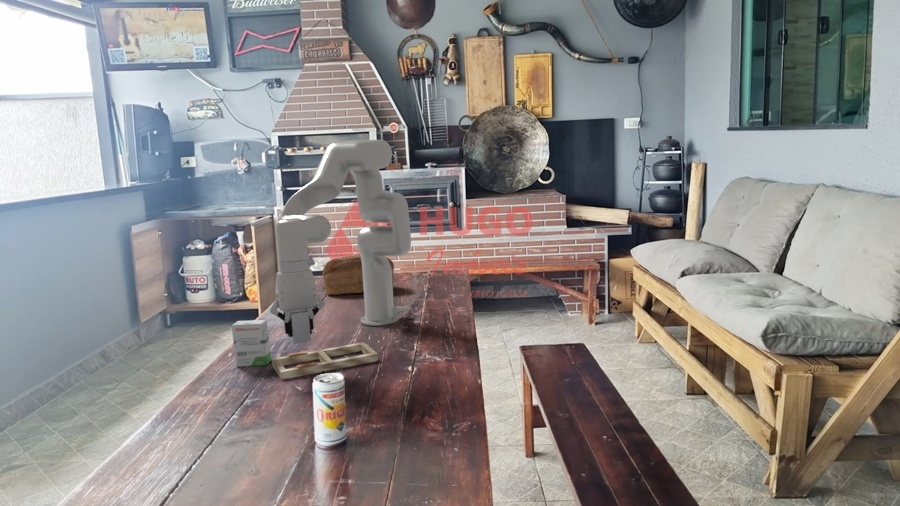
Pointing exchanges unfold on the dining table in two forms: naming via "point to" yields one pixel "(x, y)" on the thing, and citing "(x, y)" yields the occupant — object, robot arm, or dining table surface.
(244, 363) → the ink box
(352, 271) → the bread
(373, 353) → the wooden frame
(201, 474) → the dining table surface
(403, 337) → the dining table surface
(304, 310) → the grey rectangular block
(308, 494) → the dining table surface
